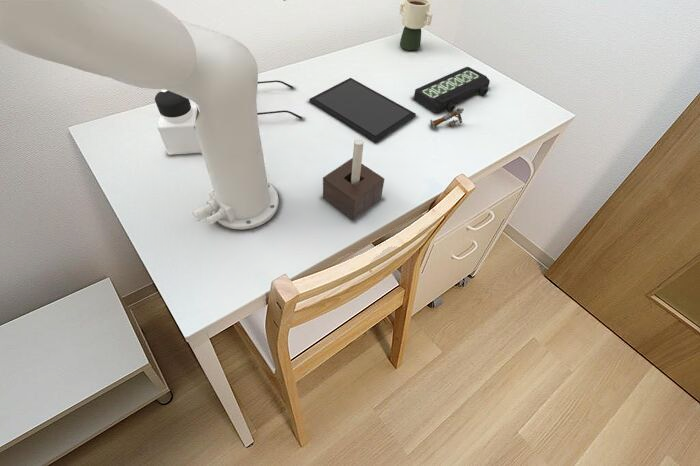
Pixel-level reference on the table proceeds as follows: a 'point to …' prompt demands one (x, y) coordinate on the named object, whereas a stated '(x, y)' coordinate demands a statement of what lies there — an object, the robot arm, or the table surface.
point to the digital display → (451, 90)
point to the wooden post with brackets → (447, 117)
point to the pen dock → (352, 189)
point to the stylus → (357, 161)
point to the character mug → (414, 22)
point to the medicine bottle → (177, 123)
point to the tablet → (363, 109)
